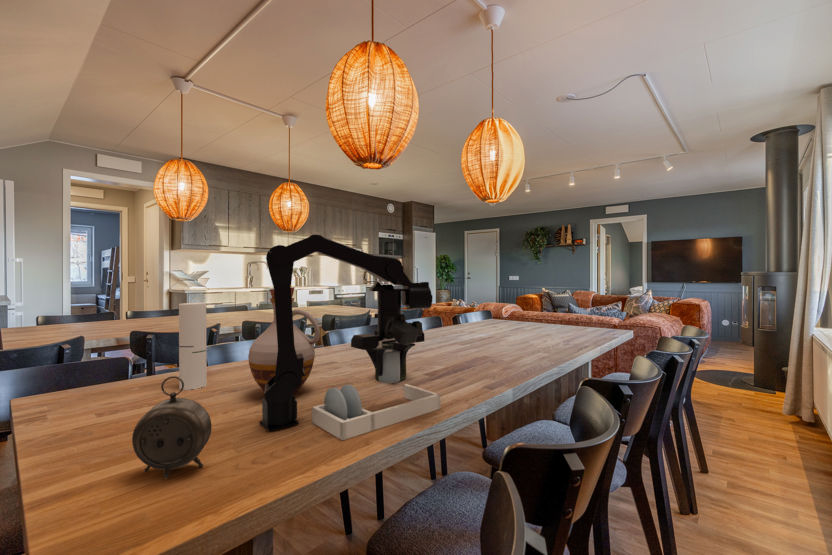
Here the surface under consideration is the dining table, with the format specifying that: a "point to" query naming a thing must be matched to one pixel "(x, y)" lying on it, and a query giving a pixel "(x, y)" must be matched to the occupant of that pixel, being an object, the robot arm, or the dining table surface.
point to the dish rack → (352, 420)
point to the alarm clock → (172, 433)
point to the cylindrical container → (192, 345)
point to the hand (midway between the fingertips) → (389, 373)
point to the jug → (267, 348)
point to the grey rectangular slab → (390, 367)
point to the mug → (403, 370)
